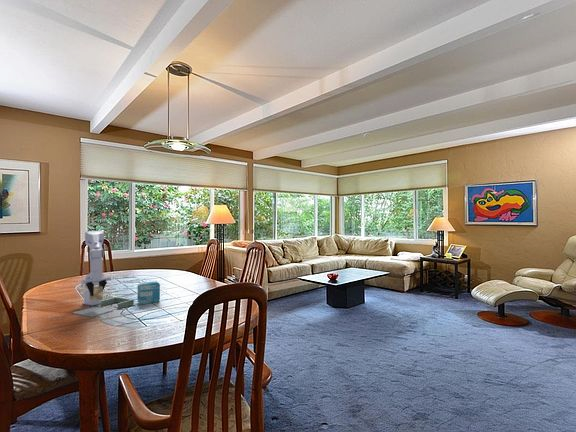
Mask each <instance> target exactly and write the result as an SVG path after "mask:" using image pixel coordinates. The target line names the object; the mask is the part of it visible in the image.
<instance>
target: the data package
mask: <svg viewBox="0 0 576 432" xmlns="http://www.w3.org/2000/svg"><path fill="white" fill-rule="evenodd" d="M160 298H161V284H160V282H158V281H149V282H140V283H138V285H137V298H136V299H137V303H138V304H139V305H147V304H153V303H159V302H160V300H161V299H160Z"/></svg>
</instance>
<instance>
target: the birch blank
mask: <svg viewBox="0 0 576 432" xmlns="http://www.w3.org/2000/svg"><path fill="white" fill-rule="evenodd" d="M103 292H104V290H103V287H102V286H99V285H94V288H93V296H90V299H91V300H94V301H97V300H101V301H102V300H104V299H103V298H104V297H103V296H104V293H103Z"/></svg>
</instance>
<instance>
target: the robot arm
mask: <svg viewBox="0 0 576 432" xmlns="http://www.w3.org/2000/svg"><path fill="white" fill-rule="evenodd" d="M104 240H105V232H104V230H85V232H84V241H85V242H84V244H85V245H86V246H87V247H89V262H90V263H89V265H90V266H89V267H90V270H89V271H90V272H89V273H88V274H85V276H84V279H81V280H80V284H81V285H84V289H85V290H84V292H83V302H82V303H81V304H82V305H85V306H87V305H88V306H95V305H101V301H102V300H97V301H94V300H91V299H90V296H93V288H94V285H99V286H102V287H103V291H104V289H105V287H106V285H107V283H108V281H111V280H112V277H111V276H104V274H103V259H104V248H103V247H102V245H103V244H104Z"/></svg>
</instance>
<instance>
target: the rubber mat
mask: <svg viewBox="0 0 576 432" xmlns="http://www.w3.org/2000/svg"><path fill="white" fill-rule="evenodd" d="M113 311H114V309H108V308H103V307H97V306H92V307H88V308H85V309H81V310H77V311H72V314H73V315H78V316H83V317H88V318H94V317H97V316H100V315H104V314H108V313H110V312H113Z"/></svg>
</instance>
